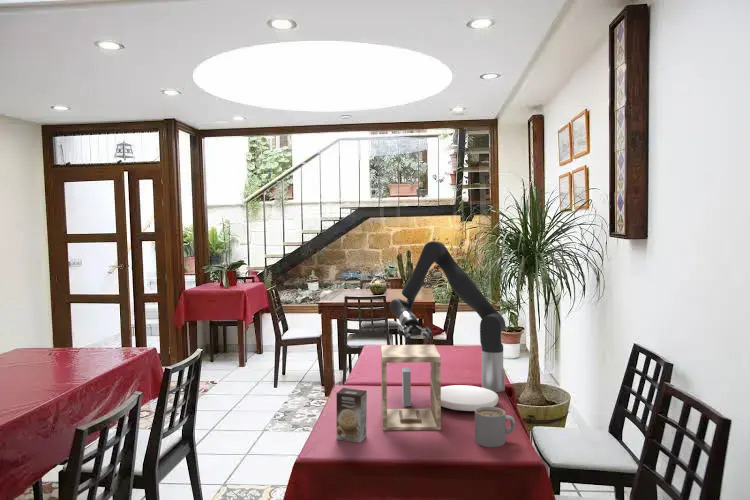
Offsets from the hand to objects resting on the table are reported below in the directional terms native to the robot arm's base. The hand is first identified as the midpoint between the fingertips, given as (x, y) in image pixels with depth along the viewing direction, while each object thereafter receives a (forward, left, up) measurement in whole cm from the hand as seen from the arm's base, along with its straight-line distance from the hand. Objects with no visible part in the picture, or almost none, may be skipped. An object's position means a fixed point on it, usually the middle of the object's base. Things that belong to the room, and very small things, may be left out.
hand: (419, 339), depth 220 cm
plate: (-18, +8, -25) cm, 32 cm away
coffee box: (+27, +41, -25) cm, 55 cm away
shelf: (+6, +25, -25) cm, 36 cm away
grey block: (+6, +7, -25) cm, 26 cm away
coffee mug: (-21, +45, -25) cm, 55 cm away
